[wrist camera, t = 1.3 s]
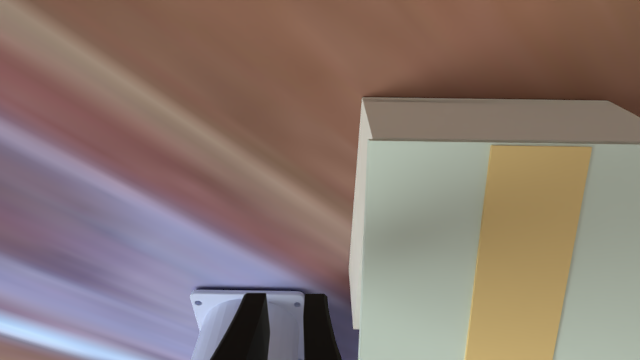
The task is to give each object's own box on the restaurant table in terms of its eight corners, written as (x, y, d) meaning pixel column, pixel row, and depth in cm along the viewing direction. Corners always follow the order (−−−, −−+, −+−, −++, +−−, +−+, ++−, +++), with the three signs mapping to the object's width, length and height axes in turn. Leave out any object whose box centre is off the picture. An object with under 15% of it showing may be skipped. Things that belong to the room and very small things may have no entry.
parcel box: (526, 273, 24) (564, 333, 20) (348, 270, 24) (353, 330, 20) (607, 100, 17) (687, 142, 13) (362, 97, 17) (372, 137, 13)
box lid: (627, 414, 16) (640, 428, 15) (355, 409, 16) (357, 423, 15) (694, 143, 13) (715, 146, 13) (367, 138, 13) (370, 141, 13)
